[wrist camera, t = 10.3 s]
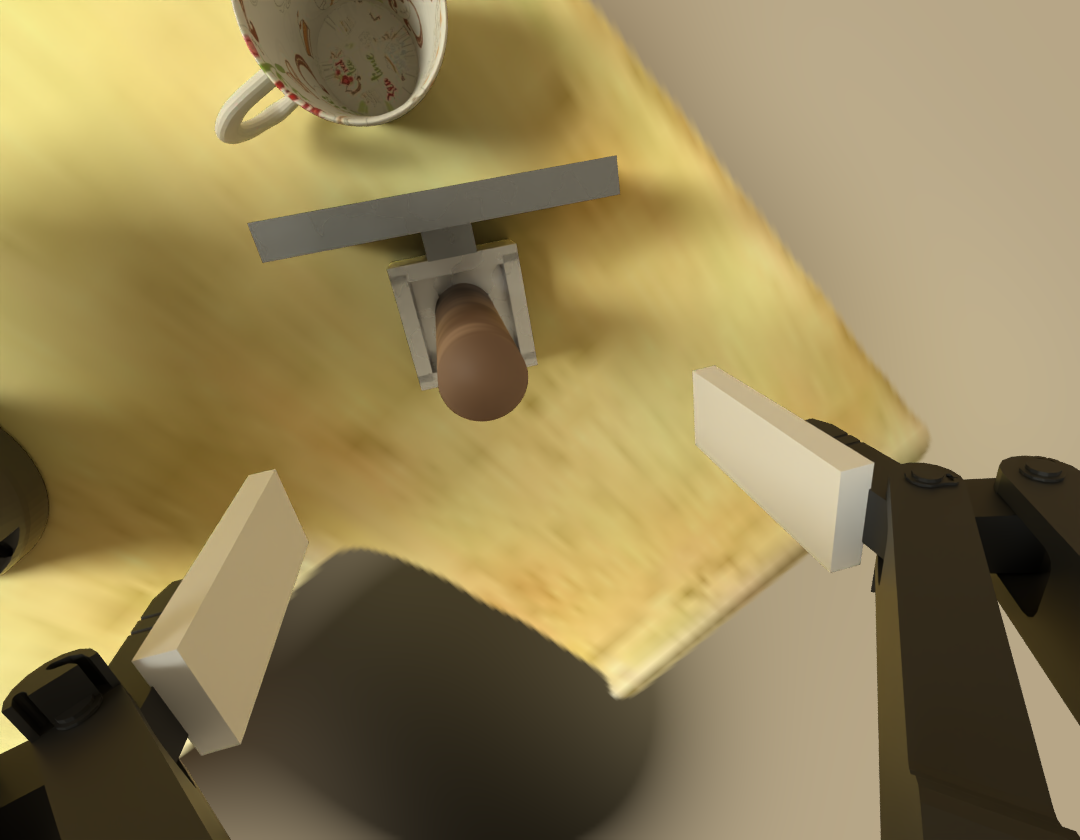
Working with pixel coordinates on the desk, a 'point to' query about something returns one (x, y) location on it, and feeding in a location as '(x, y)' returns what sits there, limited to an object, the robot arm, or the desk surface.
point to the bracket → (444, 244)
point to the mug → (335, 60)
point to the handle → (476, 356)
